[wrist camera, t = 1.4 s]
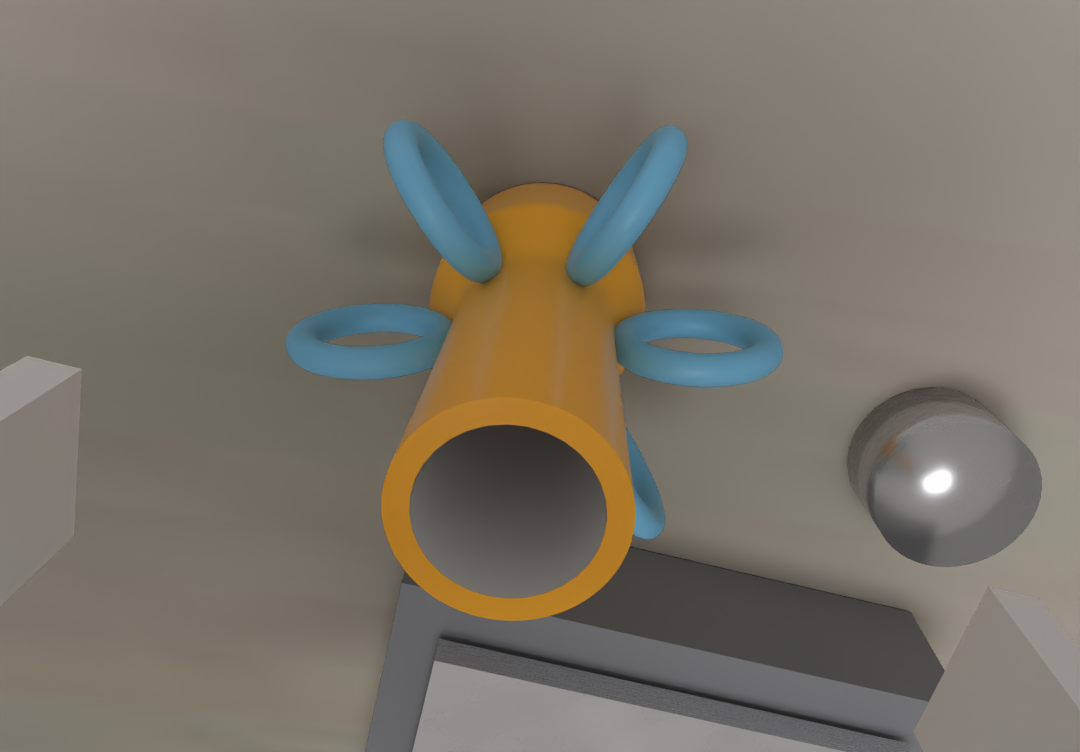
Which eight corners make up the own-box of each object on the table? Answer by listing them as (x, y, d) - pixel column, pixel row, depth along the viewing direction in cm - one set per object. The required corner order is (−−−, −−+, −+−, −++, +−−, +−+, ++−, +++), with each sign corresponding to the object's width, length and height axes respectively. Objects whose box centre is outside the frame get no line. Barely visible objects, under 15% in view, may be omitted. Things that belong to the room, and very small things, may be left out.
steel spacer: (825, 500, 30) (850, 547, 27) (878, 370, 28) (912, 406, 26) (960, 532, 30) (999, 581, 28) (1022, 405, 29) (1070, 445, 26)
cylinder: (751, 105, 25) (965, 180, 11) (721, 427, 29) (855, 780, 15) (340, 100, 26) (62, 168, 12) (363, 419, 30) (172, 755, 16)
